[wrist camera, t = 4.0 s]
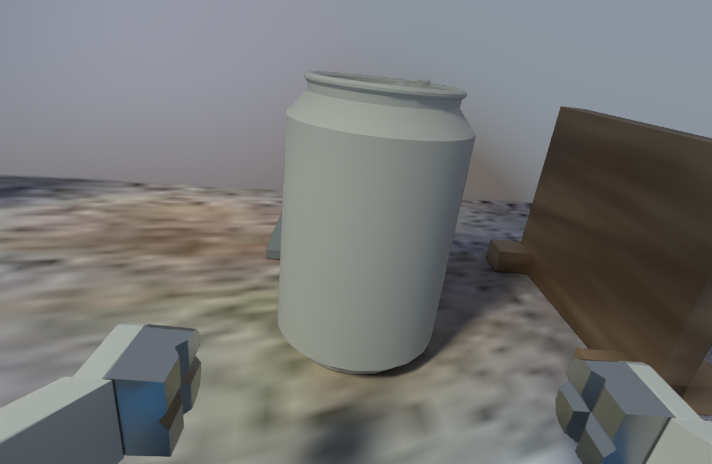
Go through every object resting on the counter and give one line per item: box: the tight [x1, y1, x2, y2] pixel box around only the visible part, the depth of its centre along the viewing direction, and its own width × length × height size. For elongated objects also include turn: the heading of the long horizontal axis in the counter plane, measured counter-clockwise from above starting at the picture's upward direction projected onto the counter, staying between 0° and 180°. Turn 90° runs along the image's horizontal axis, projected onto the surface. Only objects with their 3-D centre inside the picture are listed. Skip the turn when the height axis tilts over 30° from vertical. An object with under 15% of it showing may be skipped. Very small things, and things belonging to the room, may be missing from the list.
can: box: [278, 71, 475, 374], centre depth 18 cm, size 8×8×12 cm
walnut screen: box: [486, 107, 712, 416], centre depth 22 cm, size 6×14×11 cm, turn 1°
